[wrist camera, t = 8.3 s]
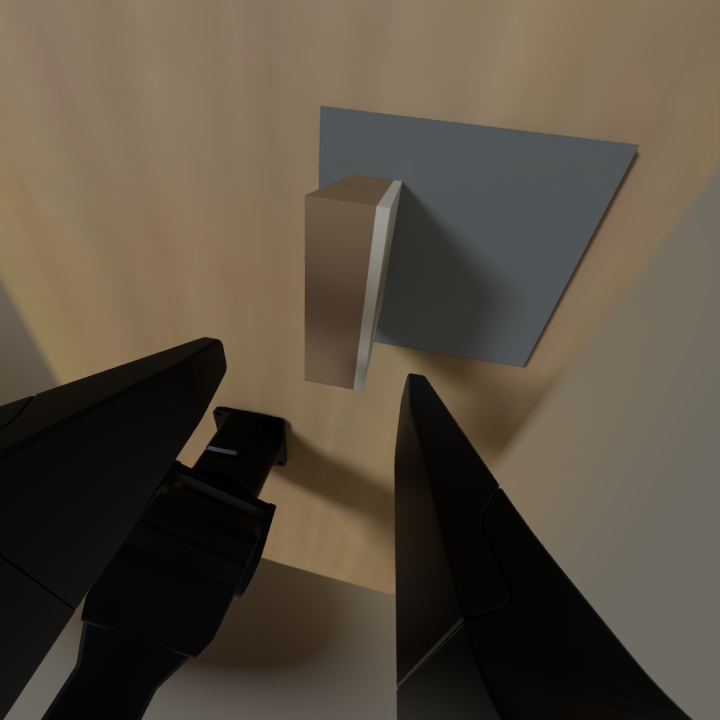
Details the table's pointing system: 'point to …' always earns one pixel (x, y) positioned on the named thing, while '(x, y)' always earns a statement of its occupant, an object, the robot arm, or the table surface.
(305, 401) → the table surface
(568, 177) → the mat
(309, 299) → the tile
